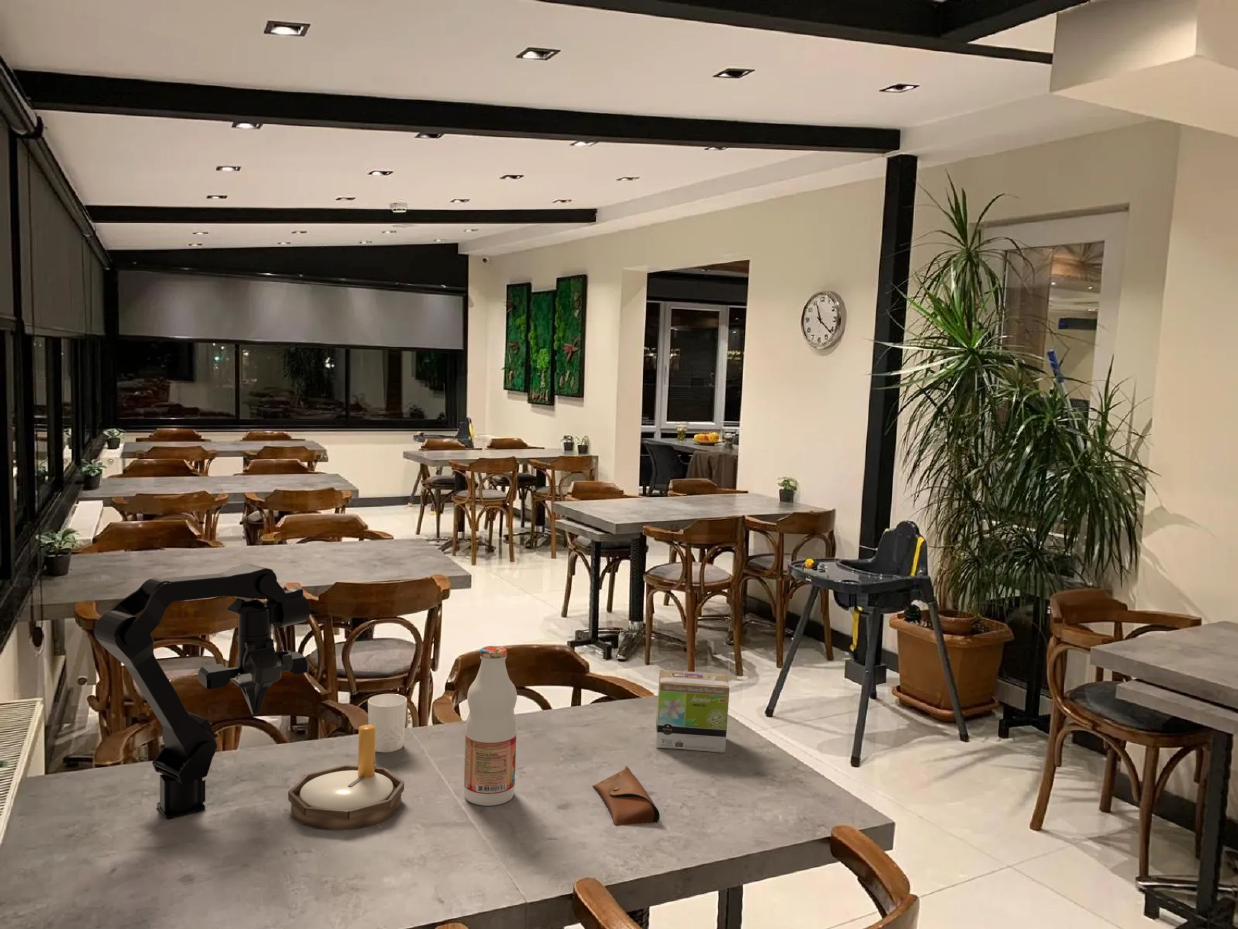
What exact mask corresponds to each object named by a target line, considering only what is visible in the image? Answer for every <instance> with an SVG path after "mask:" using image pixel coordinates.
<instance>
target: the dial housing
mask: <svg viewBox="0 0 1238 929" xmlns="http://www.w3.org/2000/svg"><path fill="white" fill-rule="evenodd" d="M377 766H378V765H377V764H375V773H379V774H381V775H384V776H386V777H387V778H389V779H390V780H391V782H392V784H393V793H392V795H391V796H390V797H389V799H388V800H385V801H381V802H377V803H373V804H370V805H366V806H362V807H359V808H355V809H351V810H340V809H329V808H317V807H307V806H306V805H305V804H304V803H303V802H302V801H301V799H300V791H301V789H302V787H303V786H304V785H305V784H306V783H307V782H309V781H310V780H312V779H314V778H316V777H319V776H322V775H325V774H329V773H333V772H339V771H350V770H358V765H355V764H352V765H351V764H343V765H339V766H335V767H331V768H327V769H322V770H318V771H313V772H309V773H306V774H305V775H304V776H302V778H301V779H300V780H298V782H296V783H295V784H294V785H293V786H292V787H291V788H290V789H289V790H288V791H287V795H288V796H287V801H288V802H290V813H291V816H292V817H293V819H294V820H295V821H297V823H299V824H301V825H303V826H306V827H310V828H312V829H318V830H325V831H348V830H357V829H361V828H365V827H370V826H373V825H376V824H378V823H381V822H384V821H385V820H387V819H389V818H391V817H392V816H394V815H395V814H396V813H397V812H398V811H399V810H400V808H401V805H402V794H403V792H404V791H405V781H403V780H402V779H401V778H399V777H398V776H397V775H396V774H394V773H393V772H392V771H390V770H389V769H388V768H385V767H381V766H380V767H377Z"/></svg>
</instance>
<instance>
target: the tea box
mask: <svg viewBox="0 0 1238 929" xmlns="http://www.w3.org/2000/svg"><path fill="white" fill-rule="evenodd" d="M728 681H729V680H728V676H727V674H726V673H713V672H701V671H699V672H698V671H686V670H685V671H684V670H671V669H660V670H659V676H658V687H657V688H658V692H657V706H656V719H655V720H656V721H655V740H656V741H655V742H656V743H655V745H656V746H655V747H656V749H675V750H676V749H677V750H689V751H700V752H701V751H702V752H711V753H721V754H724V753H725V751H726V747H727V746H726V744H727V731H728V730H727V729H728V714H729V712H728V711H729V703H730V685H729V682H728Z"/></svg>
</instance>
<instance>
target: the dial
mask: <svg viewBox="0 0 1238 929" xmlns="http://www.w3.org/2000/svg"><path fill="white" fill-rule="evenodd" d="M375 731H376V727H375V726H374V725H369V724H363V725H360V726H359V727H358V756H357V757H358V758H357V762H358V763H357V766H358V770H350V771H339V772H333V773H329V774H325V775H322V776H319V777H316V778H314V779H312V780H310V781H309V782H307V783H306V784H305V785H304V786H303V787H302V789H301V791H300V799H301V801H302V802H303V803H304V804H305V805H306V806H307V807H317V808H329V809H340V810H351V809H355V808H359V807H362V806H366V805H370V804H373V803H377V802H381V801H385V800H388V799H389V797H390V796H391V795H392V793H393V784H392V782H391V780H390V779H389V778H387V777H386V776H384V775H381V774H379V773H375V765H376V751H375Z"/></svg>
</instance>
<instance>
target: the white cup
mask: <svg viewBox="0 0 1238 929" xmlns="http://www.w3.org/2000/svg"><path fill="white" fill-rule="evenodd" d="M407 704H408V698H407V697H406V696H404V695H401V694H396V693H383V694H377V695H373V696H371V697H369V699H368V700H367V708H368V709H367V711H368V712H367V713H368V714H367V716H368V725H374V726H375V727H376V731H375V753H376V752H377V753H393V752H397V751H398V750H401V749H402V748H403V746H404V740H405V739H404V738H405V731H406V722H407V721H406V719H407V706H408V705H407Z"/></svg>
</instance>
